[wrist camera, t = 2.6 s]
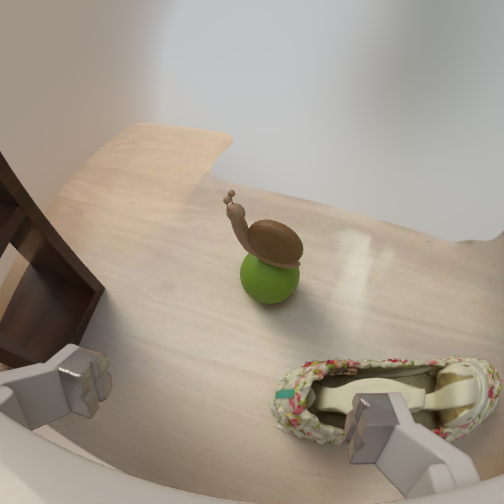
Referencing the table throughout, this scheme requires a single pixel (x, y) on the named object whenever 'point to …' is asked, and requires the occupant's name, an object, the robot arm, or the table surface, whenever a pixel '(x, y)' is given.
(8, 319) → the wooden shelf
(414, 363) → the ballet flat
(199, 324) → the table surface
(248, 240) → the snail figurine
